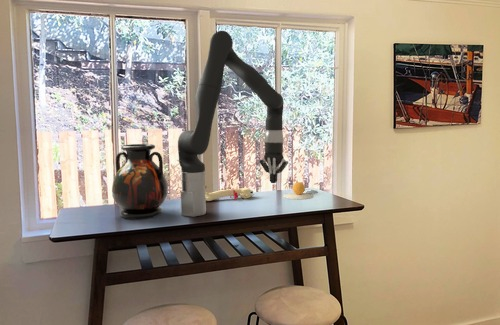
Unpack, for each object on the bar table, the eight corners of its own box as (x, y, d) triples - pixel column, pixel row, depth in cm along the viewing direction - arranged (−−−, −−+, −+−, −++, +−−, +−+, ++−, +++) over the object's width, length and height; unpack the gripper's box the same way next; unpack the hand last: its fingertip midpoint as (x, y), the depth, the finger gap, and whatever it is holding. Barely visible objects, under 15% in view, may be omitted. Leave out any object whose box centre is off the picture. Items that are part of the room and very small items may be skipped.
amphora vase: (103, 221, 162) (99, 147, 159) (127, 208, 183) (123, 143, 180) (158, 222, 159) (155, 147, 156) (175, 209, 181) (173, 143, 177)
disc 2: (313, 194, 208) (313, 194, 208) (294, 192, 213) (294, 192, 213) (320, 191, 216) (320, 190, 216) (301, 189, 221) (301, 189, 221)
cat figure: (204, 207, 191) (257, 198, 199) (202, 188, 189) (255, 179, 197) (199, 202, 200) (250, 194, 208) (197, 184, 199) (248, 176, 207)
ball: (306, 195, 210) (302, 194, 204) (294, 194, 212) (290, 193, 207) (307, 182, 210) (303, 182, 204) (295, 182, 212) (291, 181, 207)
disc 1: (306, 200, 195) (306, 200, 195) (278, 197, 201) (278, 197, 201) (317, 194, 207) (317, 194, 207) (290, 192, 214) (290, 192, 214)
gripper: (255, 141, 177) (255, 182, 178) (284, 142, 170) (283, 185, 172) (264, 140, 183) (263, 180, 185) (292, 141, 176) (291, 183, 178)
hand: (273, 182), depth 178 cm, fingers closed
